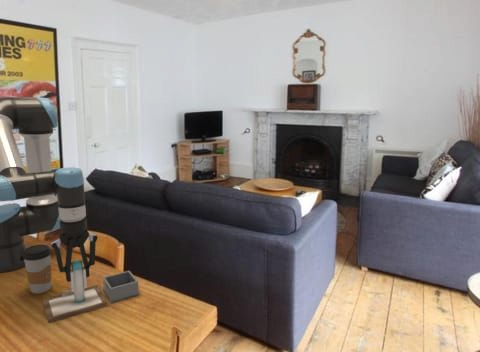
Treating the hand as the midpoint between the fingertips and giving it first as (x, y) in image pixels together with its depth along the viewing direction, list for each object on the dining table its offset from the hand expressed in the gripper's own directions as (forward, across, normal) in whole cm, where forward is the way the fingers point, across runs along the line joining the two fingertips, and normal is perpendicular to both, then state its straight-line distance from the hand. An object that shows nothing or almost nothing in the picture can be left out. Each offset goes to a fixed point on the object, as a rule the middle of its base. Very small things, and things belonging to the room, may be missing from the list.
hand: (78, 287), depth 117 cm
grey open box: (+6, +13, 0) cm, 14 cm away
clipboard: (+6, -1, +1) cm, 6 cm away
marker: (+4, 0, 0) cm, 4 cm away
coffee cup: (+6, -10, +17) cm, 20 cm away
